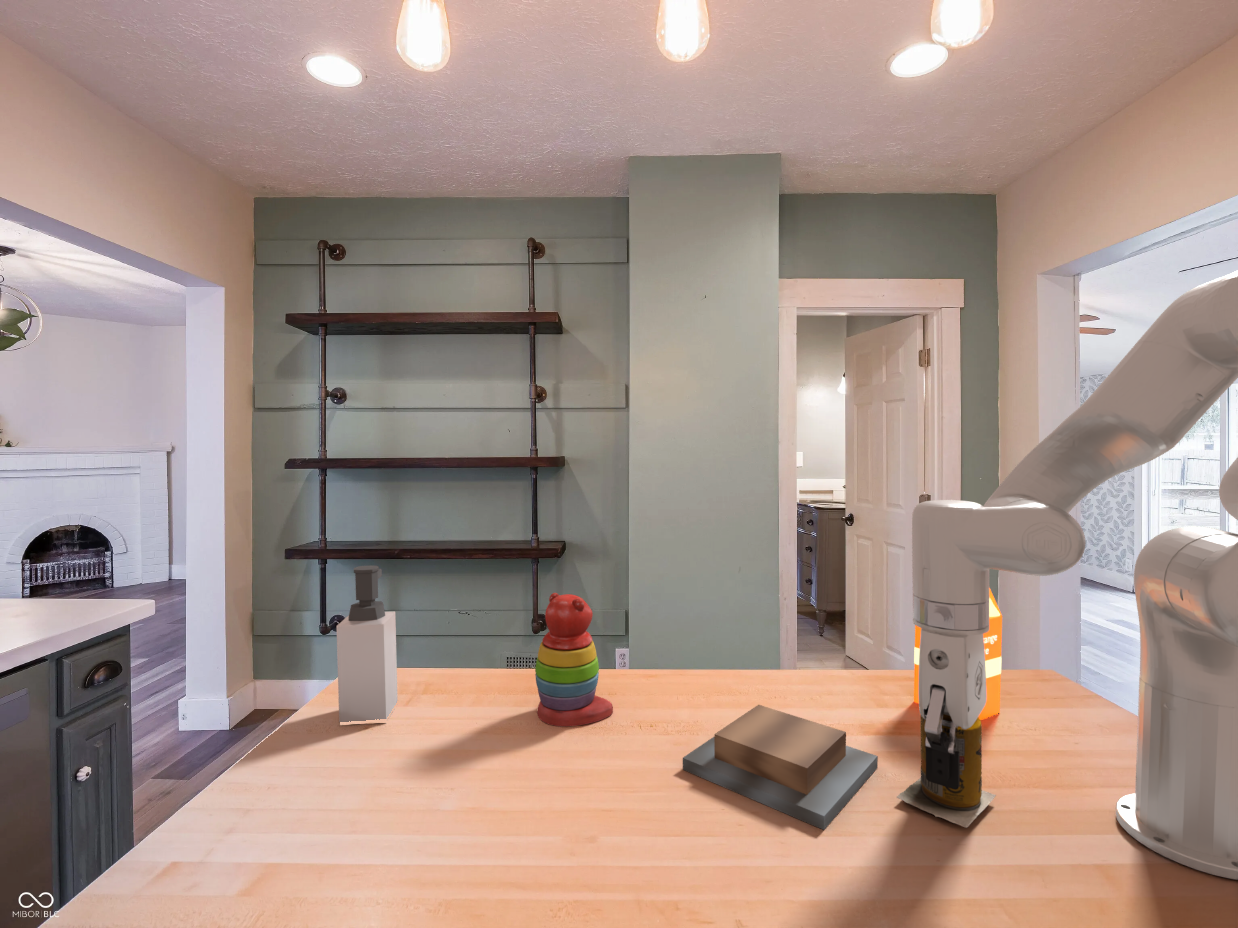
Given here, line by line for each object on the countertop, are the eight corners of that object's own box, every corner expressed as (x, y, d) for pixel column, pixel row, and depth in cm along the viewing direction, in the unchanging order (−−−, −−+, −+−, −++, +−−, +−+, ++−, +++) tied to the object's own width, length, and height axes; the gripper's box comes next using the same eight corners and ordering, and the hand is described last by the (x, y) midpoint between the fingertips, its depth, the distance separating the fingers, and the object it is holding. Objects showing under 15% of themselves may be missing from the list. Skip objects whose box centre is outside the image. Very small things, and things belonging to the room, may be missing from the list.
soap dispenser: (401, 697, 98) (398, 559, 97) (386, 723, 90) (382, 571, 89) (358, 699, 98) (355, 560, 97) (339, 725, 89) (334, 573, 88)
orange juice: (967, 725, 88) (970, 585, 87) (912, 701, 96) (914, 572, 95) (1001, 713, 92) (1004, 578, 91) (945, 691, 99) (948, 567, 99)
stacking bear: (619, 712, 93) (618, 594, 92) (567, 736, 85) (566, 608, 85) (571, 691, 100) (570, 582, 99) (520, 712, 93) (518, 594, 92)
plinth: (877, 767, 77) (878, 731, 77) (823, 829, 65) (824, 787, 65) (748, 723, 89) (748, 692, 89) (682, 769, 77) (682, 733, 77)
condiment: (996, 796, 70) (995, 690, 69) (966, 829, 64) (965, 714, 64) (928, 771, 75) (927, 673, 75) (896, 799, 69) (895, 694, 69)
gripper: (969, 638, 60) (970, 820, 61) (1004, 600, 73) (1004, 751, 74) (888, 625, 65) (890, 793, 66) (935, 591, 78) (935, 732, 79)
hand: (950, 769), depth 70 cm, fingers closed on condiment, 6 cm apart
